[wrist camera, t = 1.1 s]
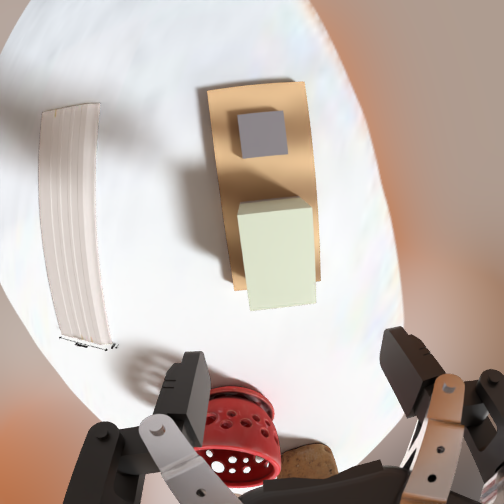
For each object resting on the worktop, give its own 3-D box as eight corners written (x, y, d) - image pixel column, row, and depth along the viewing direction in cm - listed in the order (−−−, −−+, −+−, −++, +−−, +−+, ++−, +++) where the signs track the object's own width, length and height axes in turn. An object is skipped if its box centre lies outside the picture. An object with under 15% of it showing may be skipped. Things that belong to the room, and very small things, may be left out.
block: (332, 438, 41) (352, 529, 22) (332, 454, 44) (349, 535, 25) (273, 449, 42) (279, 542, 23) (279, 464, 44) (285, 546, 25)
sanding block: (240, 202, 26) (237, 215, 20) (298, 195, 26) (312, 207, 20) (250, 280, 29) (250, 311, 23) (303, 274, 28) (316, 303, 23)
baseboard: (114, 102, 24) (48, 113, 24) (102, 99, 22) (34, 111, 21) (123, 342, 34) (66, 329, 34) (115, 355, 31) (57, 340, 31)
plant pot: (277, 374, 35) (285, 447, 24) (274, 427, 39) (279, 488, 28) (181, 373, 35) (162, 443, 24) (195, 426, 39) (185, 486, 28)
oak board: (209, 94, 24) (207, 90, 22) (301, 85, 24) (304, 81, 22) (235, 284, 30) (234, 290, 29) (317, 275, 30) (320, 281, 29)
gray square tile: (237, 116, 23) (237, 114, 22) (281, 112, 23) (283, 110, 22) (242, 158, 25) (242, 158, 24) (286, 154, 25) (288, 154, 23)
